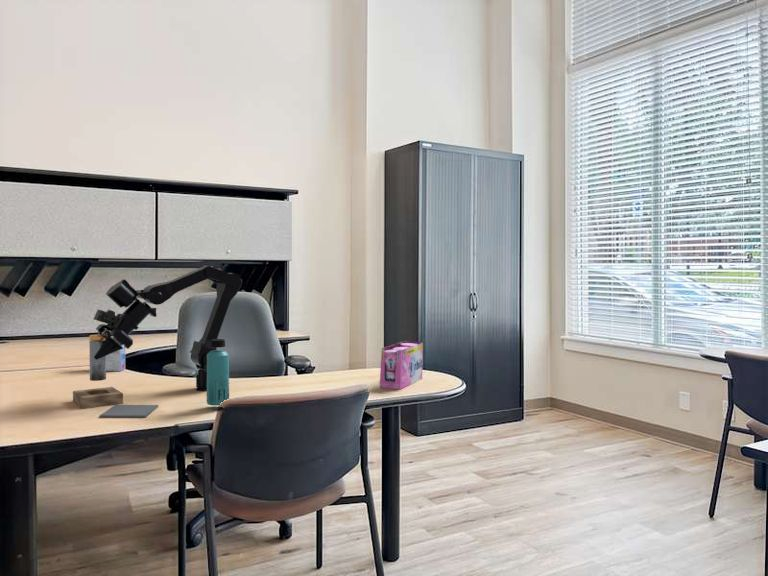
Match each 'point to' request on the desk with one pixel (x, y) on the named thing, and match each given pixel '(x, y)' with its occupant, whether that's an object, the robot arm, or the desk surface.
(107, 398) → the brown square frame
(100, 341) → the amber topped metal pillar
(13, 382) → the desk surface
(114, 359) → the ink cartridge box
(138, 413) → the mat
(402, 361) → the gum box
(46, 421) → the desk surface
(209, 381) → the beverage bottle
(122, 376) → the desk surface
